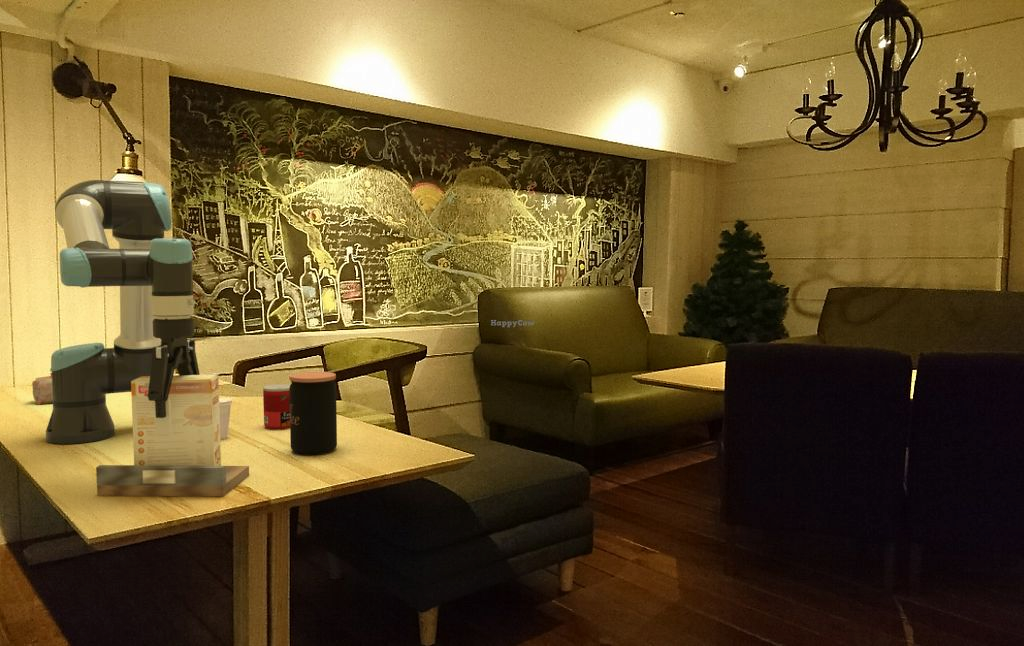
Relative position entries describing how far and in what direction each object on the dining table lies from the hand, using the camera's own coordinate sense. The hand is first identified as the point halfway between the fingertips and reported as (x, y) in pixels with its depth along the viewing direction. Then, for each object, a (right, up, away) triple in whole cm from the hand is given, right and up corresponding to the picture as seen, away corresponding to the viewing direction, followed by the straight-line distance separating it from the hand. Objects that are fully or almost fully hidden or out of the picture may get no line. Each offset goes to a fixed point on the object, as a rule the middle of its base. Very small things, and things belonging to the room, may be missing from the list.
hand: (177, 427), depth 150 cm
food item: (-76, -4, +87) cm, 116 cm away
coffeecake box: (0, -10, +1) cm, 10 cm away
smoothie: (-7, -8, +40) cm, 41 cm away
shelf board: (0, -11, 0) cm, 12 cm away
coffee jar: (+20, -9, +28) cm, 36 cm away
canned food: (+4, -7, +53) cm, 53 cm away
